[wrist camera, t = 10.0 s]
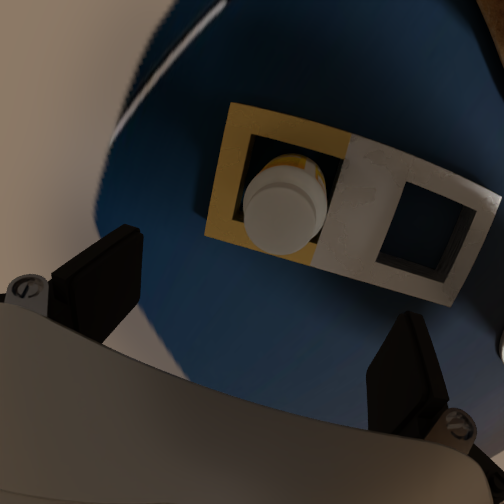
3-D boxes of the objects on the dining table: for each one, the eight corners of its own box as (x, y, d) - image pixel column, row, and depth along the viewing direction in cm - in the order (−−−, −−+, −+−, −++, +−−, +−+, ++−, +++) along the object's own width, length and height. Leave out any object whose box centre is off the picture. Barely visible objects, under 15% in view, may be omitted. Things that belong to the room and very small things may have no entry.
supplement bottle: (338, 179, 25) (349, 216, 17) (299, 226, 28) (289, 283, 19) (284, 138, 25) (267, 155, 16) (247, 189, 27) (214, 230, 19)
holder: (488, 189, 23) (501, 197, 20) (442, 292, 28) (450, 307, 25) (238, 102, 24) (230, 102, 22) (213, 224, 29) (204, 235, 27)
